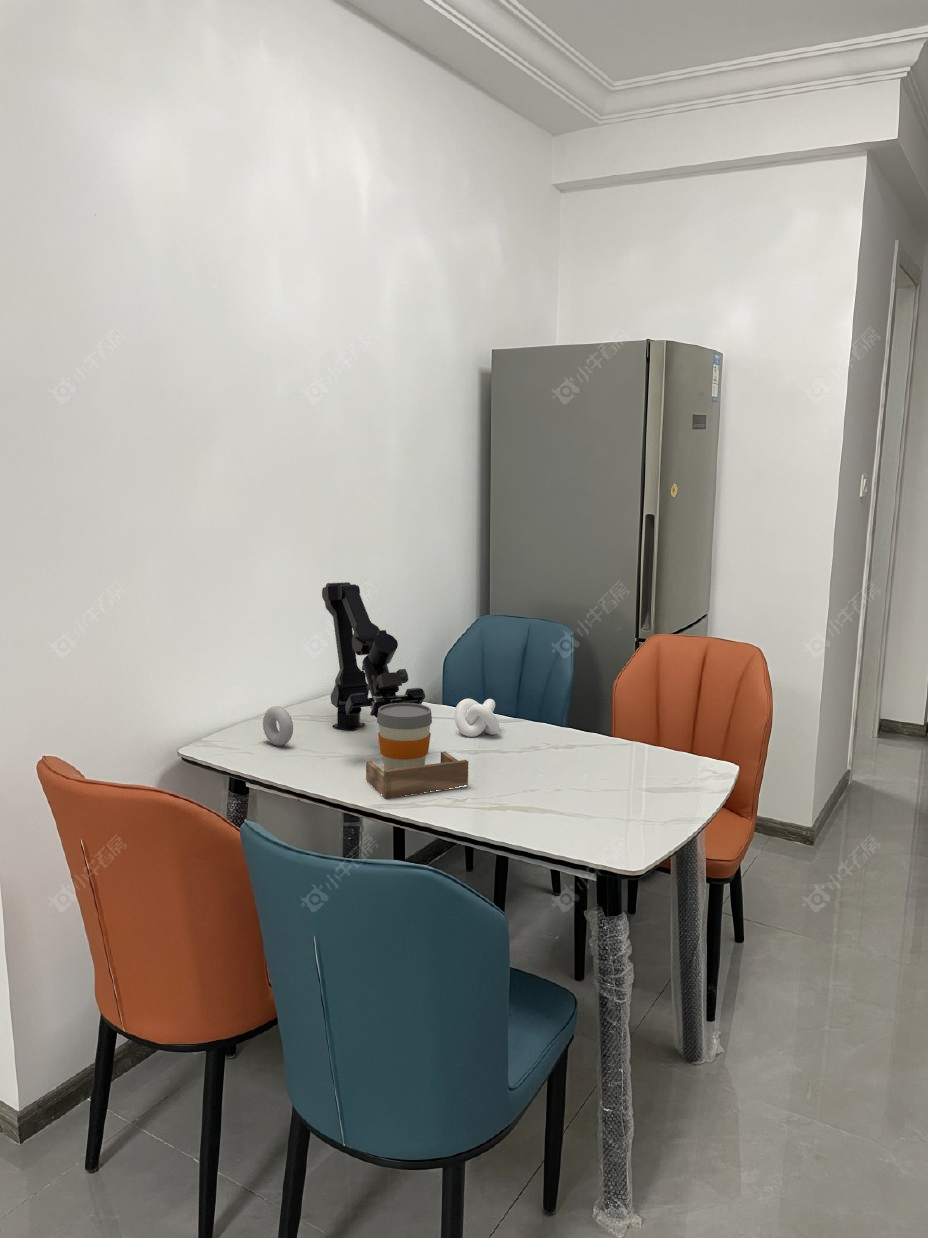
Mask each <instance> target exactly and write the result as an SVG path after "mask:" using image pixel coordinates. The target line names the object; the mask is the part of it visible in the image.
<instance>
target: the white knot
mask: <svg viewBox="0 0 928 1238" xmlns="http://www.w3.org/2000/svg"><path fill="white" fill-rule="evenodd" d="M495 707H496V702H495V700H494V699H492V698H488V699H486V700H484V701H483V703H479V702H478V701H476V700H474V699H472V698H464V699H462V700H461V701H459V702H458V703H457V705H456V707H455V710H454V721H455V726H456V728H457V729H458V731H459V733H460V734H462V735H463V736H465V737H468V738H473V737H477V736H479V735H481V733H483V732H484V733H486V734H488V735H491V736H495V735H497V734H498V733H499V730H500V723H499V720H498V718H497V716H496V715H495V713H494V710H495Z"/></svg>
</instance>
